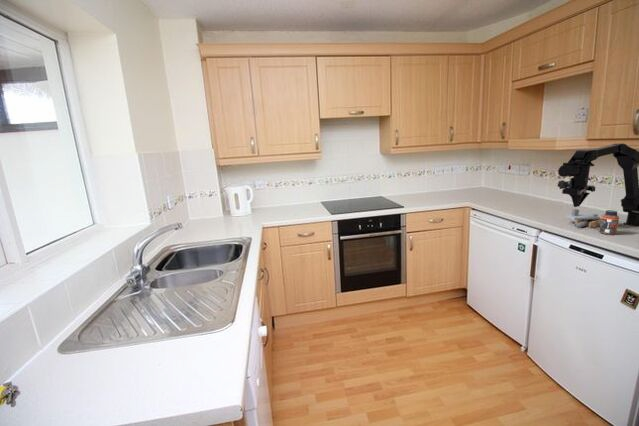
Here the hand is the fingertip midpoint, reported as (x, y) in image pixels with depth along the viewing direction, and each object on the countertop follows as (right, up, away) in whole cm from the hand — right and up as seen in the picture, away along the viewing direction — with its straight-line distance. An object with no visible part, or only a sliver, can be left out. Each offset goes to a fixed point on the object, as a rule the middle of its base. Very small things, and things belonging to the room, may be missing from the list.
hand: (576, 206), depth 151 cm
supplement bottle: (+10, -13, -6) cm, 18 cm away
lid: (+14, -6, +12) cm, 19 cm away
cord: (+8, -11, +6) cm, 15 cm away
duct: (+15, -10, +9) cm, 20 cm away
